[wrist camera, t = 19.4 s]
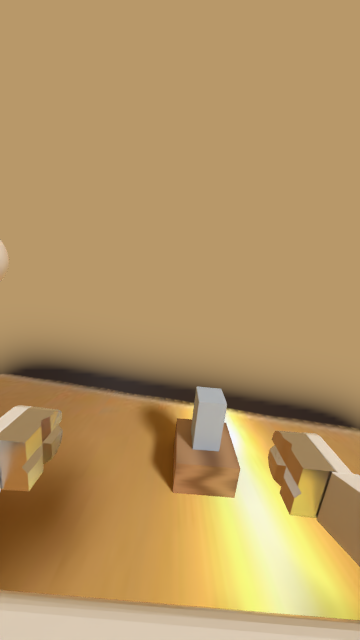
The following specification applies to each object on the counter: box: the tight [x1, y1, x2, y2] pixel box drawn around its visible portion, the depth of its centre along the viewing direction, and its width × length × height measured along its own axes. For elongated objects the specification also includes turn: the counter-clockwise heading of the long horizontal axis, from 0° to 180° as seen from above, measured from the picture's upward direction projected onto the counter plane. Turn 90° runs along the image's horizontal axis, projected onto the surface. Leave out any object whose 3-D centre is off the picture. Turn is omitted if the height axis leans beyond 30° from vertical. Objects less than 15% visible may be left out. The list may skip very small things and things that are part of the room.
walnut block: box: [173, 418, 240, 498], centre depth 37 cm, size 10×10×6 cm
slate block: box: [191, 387, 227, 451], centre depth 35 cm, size 4×4×9 cm
